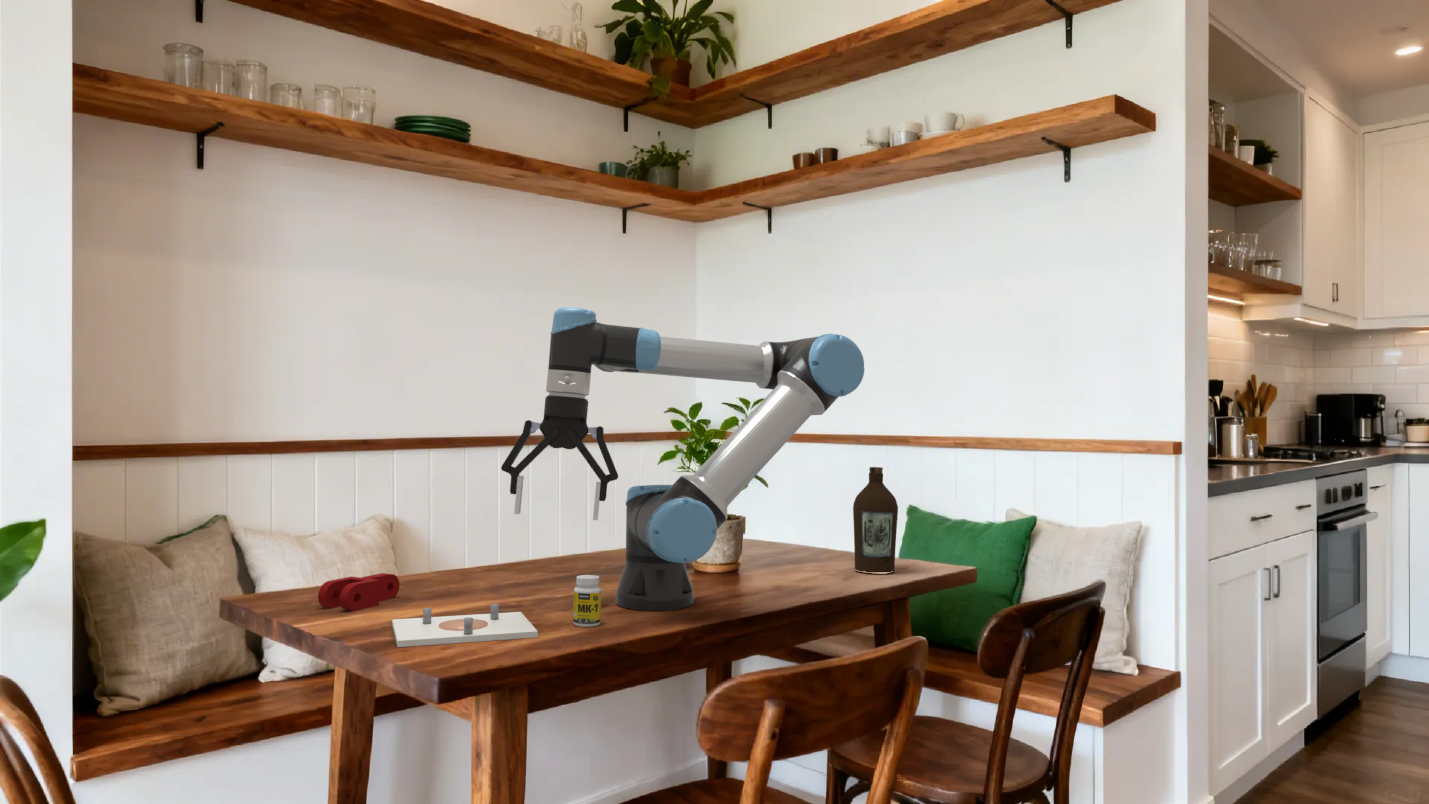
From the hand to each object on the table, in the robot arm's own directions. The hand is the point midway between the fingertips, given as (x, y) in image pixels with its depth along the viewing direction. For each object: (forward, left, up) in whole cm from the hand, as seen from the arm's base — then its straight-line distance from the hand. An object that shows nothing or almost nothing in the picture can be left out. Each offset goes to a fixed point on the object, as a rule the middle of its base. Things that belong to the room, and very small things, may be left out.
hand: (556, 516), depth 168 cm
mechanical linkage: (+31, -28, -19) cm, 46 cm away
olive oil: (-84, -33, -19) cm, 93 cm away
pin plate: (+16, +1, -19) cm, 25 cm away
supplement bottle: (-5, +2, -19) cm, 20 cm away
